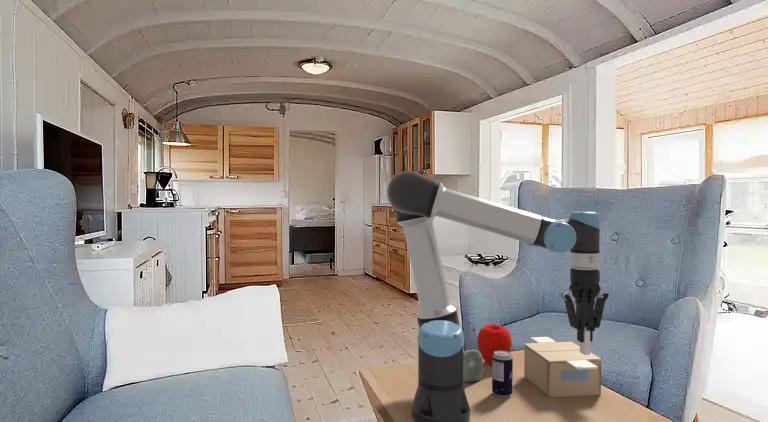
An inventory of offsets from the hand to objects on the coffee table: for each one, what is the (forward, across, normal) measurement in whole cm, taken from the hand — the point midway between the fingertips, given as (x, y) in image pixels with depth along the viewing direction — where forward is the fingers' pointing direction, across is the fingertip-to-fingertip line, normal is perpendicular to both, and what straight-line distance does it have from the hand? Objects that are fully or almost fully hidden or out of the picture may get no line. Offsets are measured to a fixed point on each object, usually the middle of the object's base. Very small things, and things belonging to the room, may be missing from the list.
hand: (584, 353), depth 133 cm
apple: (+14, -13, +34) cm, 39 cm away
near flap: (+4, 0, +5) cm, 6 cm away
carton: (+14, 0, +13) cm, 19 cm away
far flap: (+4, 0, +20) cm, 20 cm away
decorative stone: (+14, -26, +24) cm, 38 cm away
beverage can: (+14, -20, +9) cm, 26 cm away
